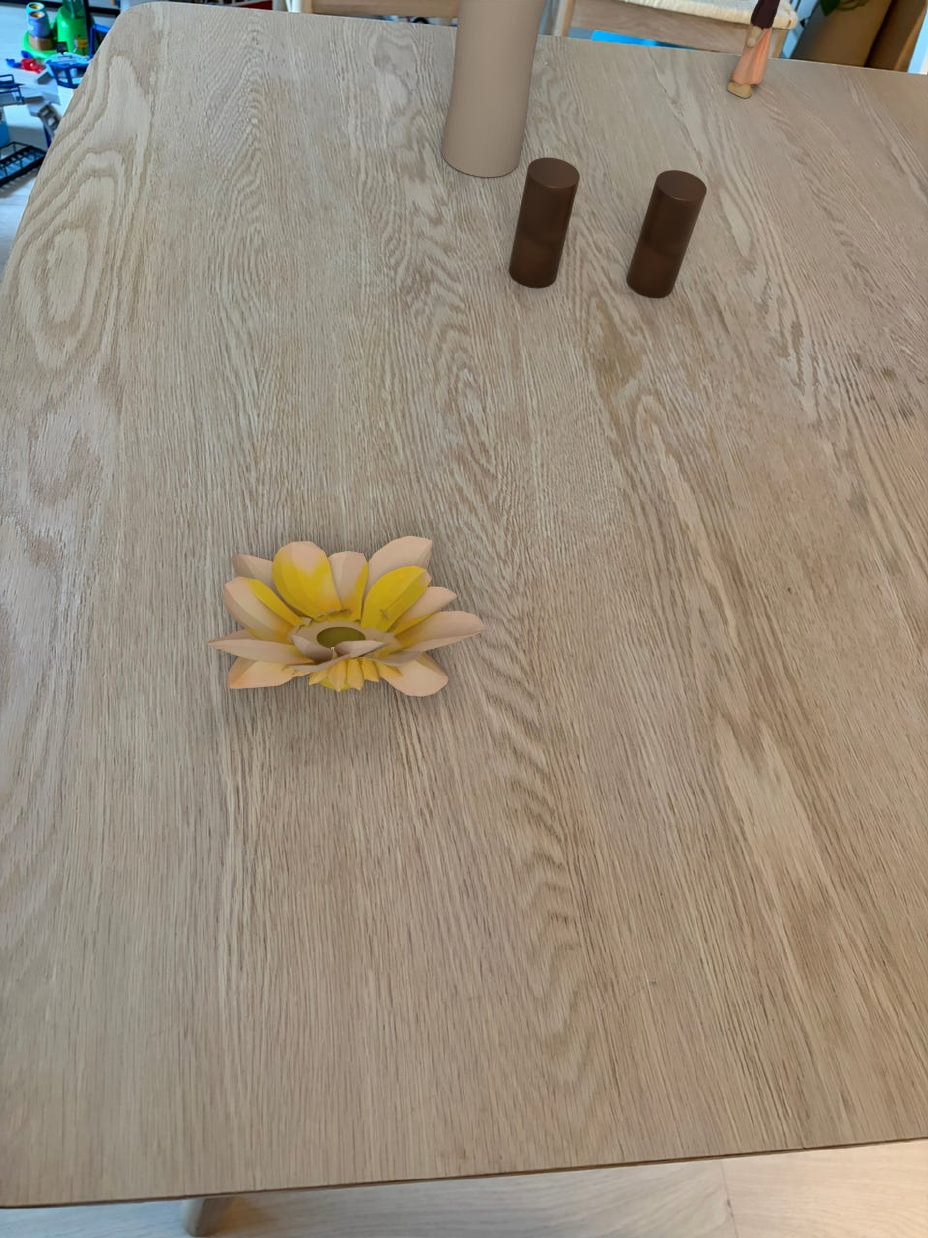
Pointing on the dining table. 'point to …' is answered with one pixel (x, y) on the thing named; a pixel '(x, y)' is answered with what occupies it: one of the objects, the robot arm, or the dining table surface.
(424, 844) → the dining table surface
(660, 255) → the marker row
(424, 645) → the decorative flower
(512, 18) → the candle
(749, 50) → the grandmother figurine
